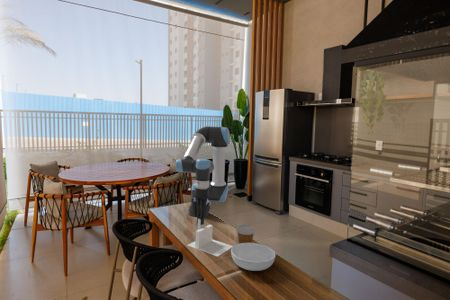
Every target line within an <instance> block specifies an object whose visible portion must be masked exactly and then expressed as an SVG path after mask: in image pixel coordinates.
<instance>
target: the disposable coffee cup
mask: <svg viewBox="0 0 450 300" xmlns="http://www.w3.org/2000/svg"><path fill="white" fill-rule="evenodd" d="M255 231H256V230H255V228H254V226H252V225H249V224H241V225H238V226H237V228H236V232H237V242H238V243H237V244H240V243H253V239H254V233H255Z"/></svg>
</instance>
